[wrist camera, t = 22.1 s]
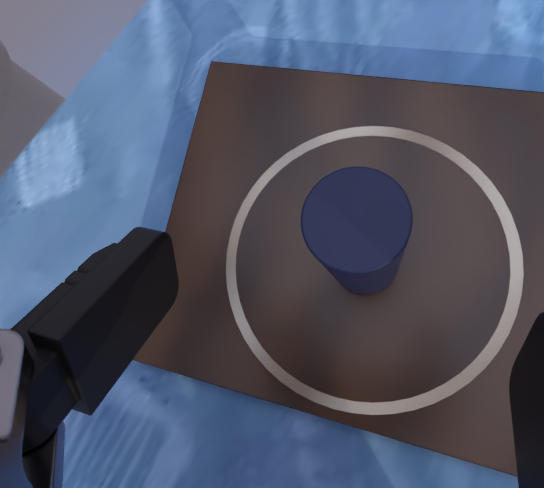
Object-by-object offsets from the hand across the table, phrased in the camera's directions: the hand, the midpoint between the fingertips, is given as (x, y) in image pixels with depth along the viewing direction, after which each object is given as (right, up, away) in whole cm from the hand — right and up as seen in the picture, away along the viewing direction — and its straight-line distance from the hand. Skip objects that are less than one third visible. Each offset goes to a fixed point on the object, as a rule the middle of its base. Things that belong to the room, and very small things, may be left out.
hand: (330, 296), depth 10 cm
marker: (+3, 0, +10) cm, 10 cm away
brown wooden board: (+2, +1, +11) cm, 12 cm away
